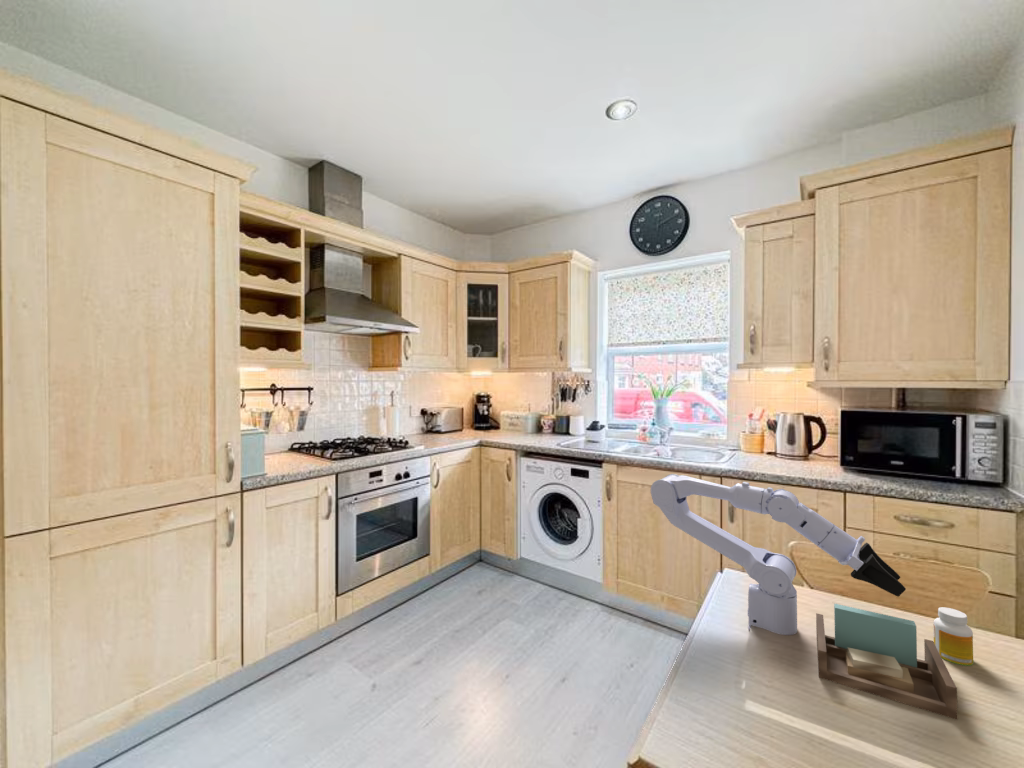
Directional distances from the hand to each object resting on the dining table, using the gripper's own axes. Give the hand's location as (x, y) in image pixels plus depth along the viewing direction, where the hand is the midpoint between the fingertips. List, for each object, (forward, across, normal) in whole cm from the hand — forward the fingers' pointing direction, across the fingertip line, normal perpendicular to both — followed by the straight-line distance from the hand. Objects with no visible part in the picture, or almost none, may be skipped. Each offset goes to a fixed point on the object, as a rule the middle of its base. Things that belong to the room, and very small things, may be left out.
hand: (899, 586), depth 82 cm
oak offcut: (+5, -6, +15) cm, 17 cm away
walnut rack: (+6, -5, +16) cm, 17 cm away
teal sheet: (+5, -1, +15) cm, 15 cm away
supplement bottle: (+15, +10, +8) cm, 20 cm away
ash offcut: (+4, -6, +14) cm, 16 cm away
